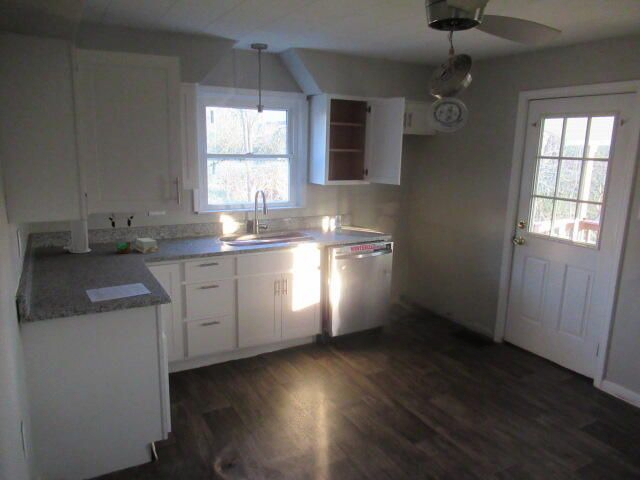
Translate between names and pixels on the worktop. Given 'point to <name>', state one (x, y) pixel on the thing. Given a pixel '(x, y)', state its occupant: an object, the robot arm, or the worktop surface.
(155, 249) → the base slab
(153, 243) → the top slab
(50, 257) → the worktop surface
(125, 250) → the food container
